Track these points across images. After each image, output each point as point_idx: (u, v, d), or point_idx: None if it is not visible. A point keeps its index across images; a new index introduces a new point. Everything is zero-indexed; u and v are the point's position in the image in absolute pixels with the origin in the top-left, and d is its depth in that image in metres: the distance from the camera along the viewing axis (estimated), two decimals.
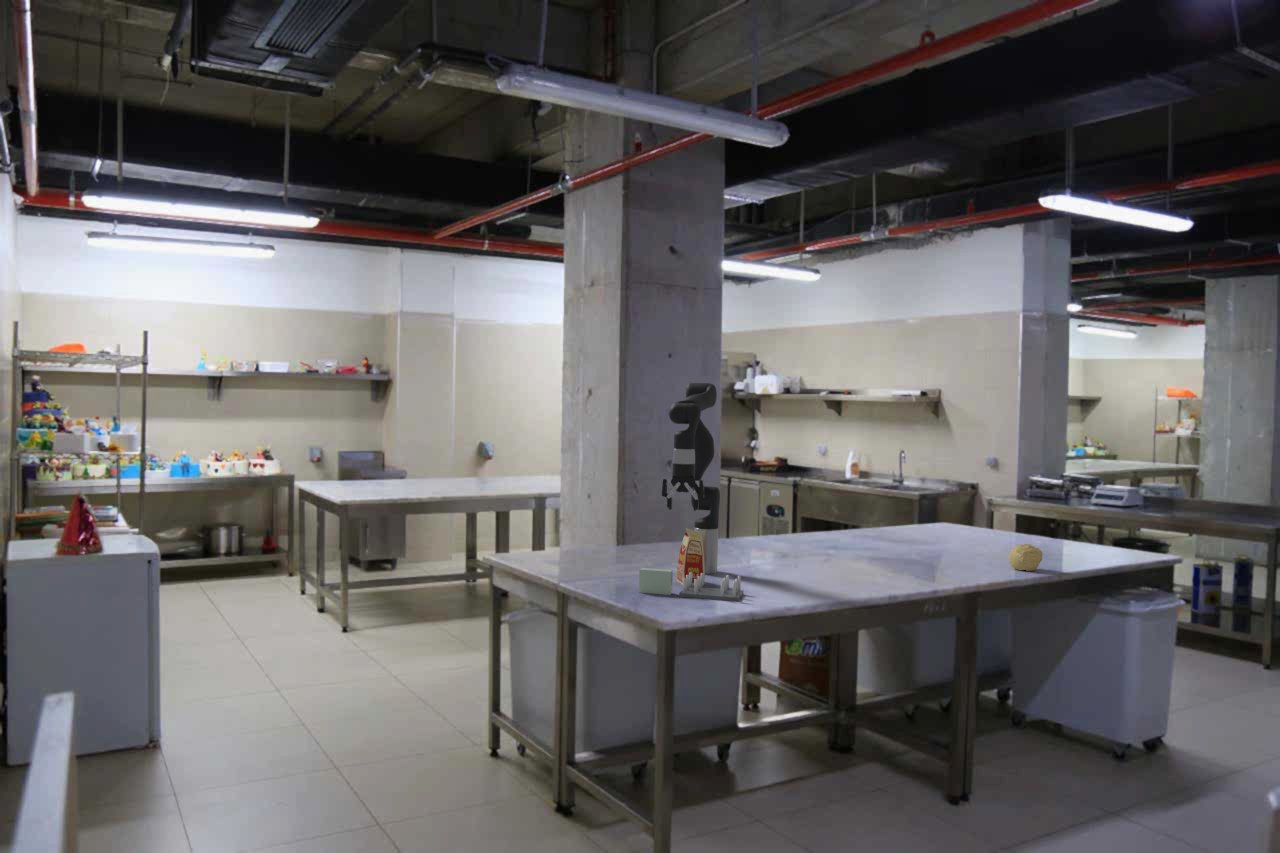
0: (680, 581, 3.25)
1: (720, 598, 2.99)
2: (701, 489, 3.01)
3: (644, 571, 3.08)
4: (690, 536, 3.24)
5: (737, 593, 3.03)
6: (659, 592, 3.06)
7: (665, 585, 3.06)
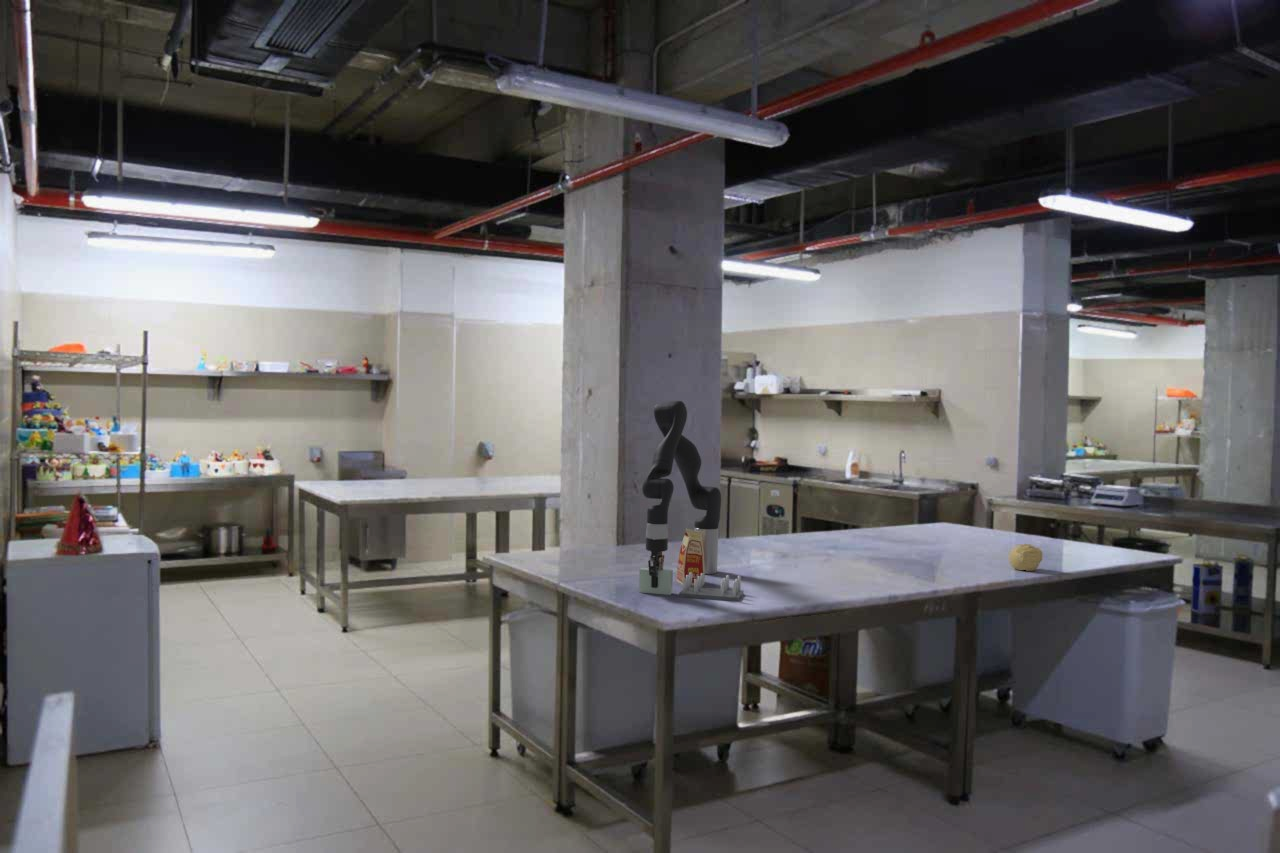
0: (680, 581, 3.25)
1: (720, 598, 2.99)
2: None
3: (644, 571, 3.08)
4: (690, 536, 3.24)
5: (737, 593, 3.03)
6: (659, 592, 3.06)
7: (665, 585, 3.06)
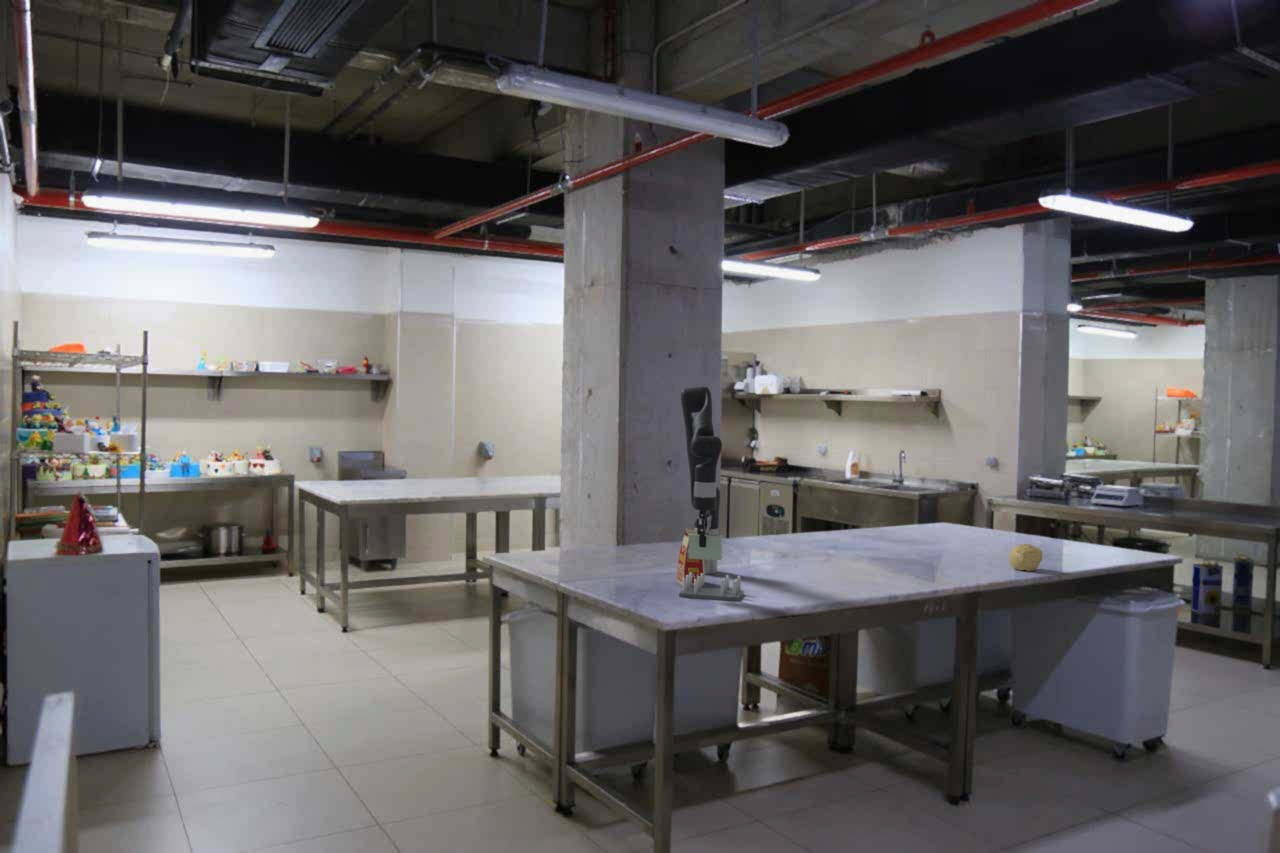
0: (680, 581, 3.25)
1: (720, 598, 2.99)
2: None
3: (693, 536, 3.03)
4: None
5: (737, 593, 3.03)
6: (709, 557, 3.01)
7: (716, 550, 3.01)
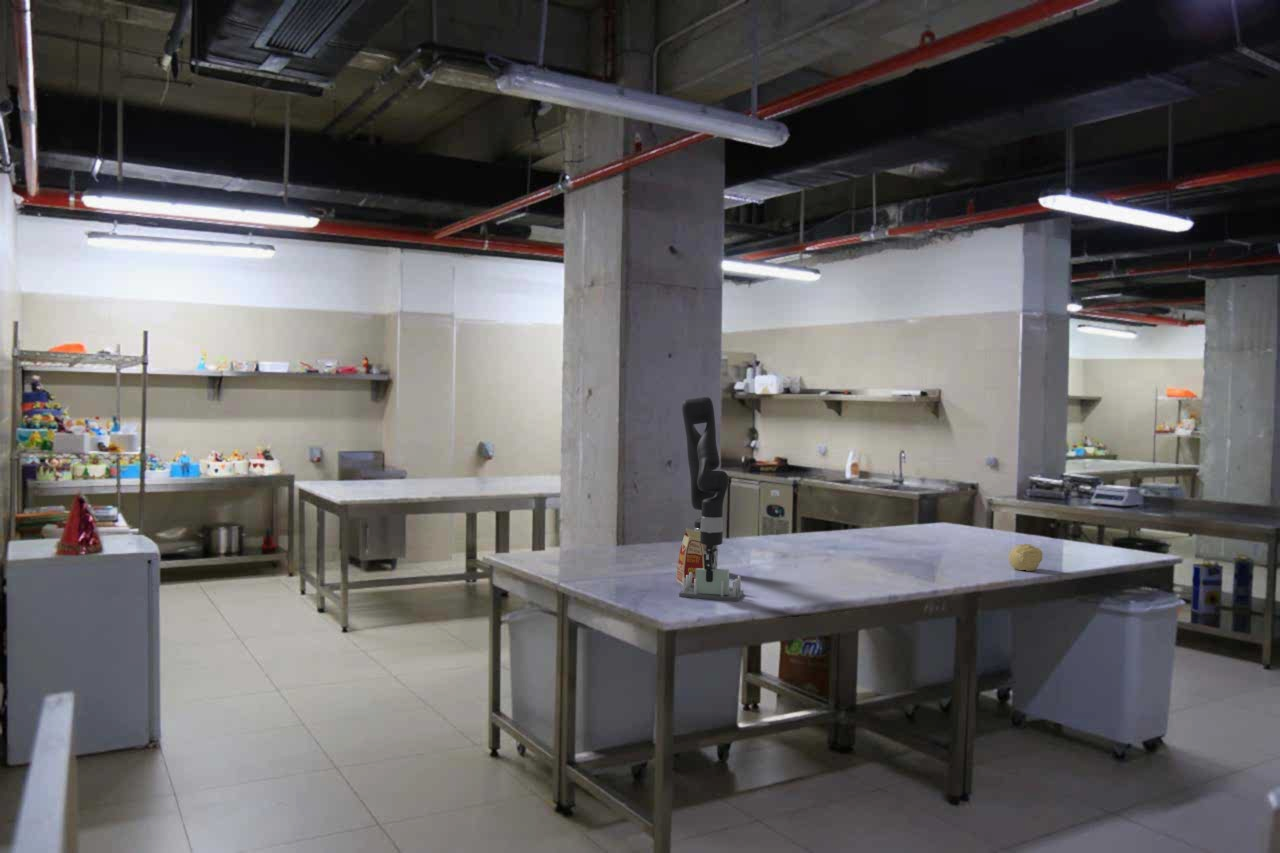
0: (680, 581, 3.25)
1: (720, 598, 2.99)
2: None
3: (700, 571, 3.02)
4: (690, 536, 3.24)
5: (737, 593, 3.03)
6: (716, 592, 3.01)
7: None
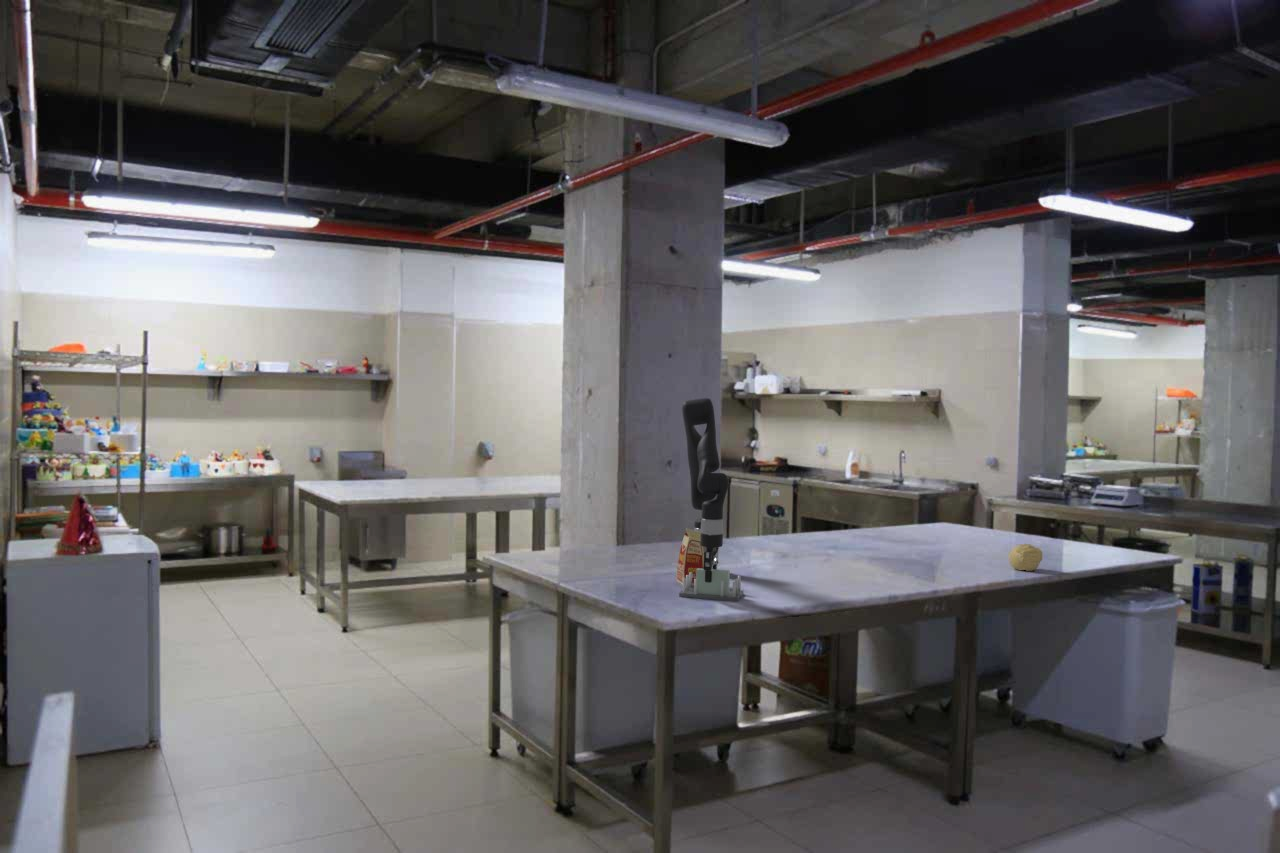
0: (680, 581, 3.25)
1: (720, 598, 2.99)
2: None
3: (701, 571, 3.02)
4: (690, 536, 3.24)
5: (737, 593, 3.03)
6: (716, 593, 3.01)
7: None
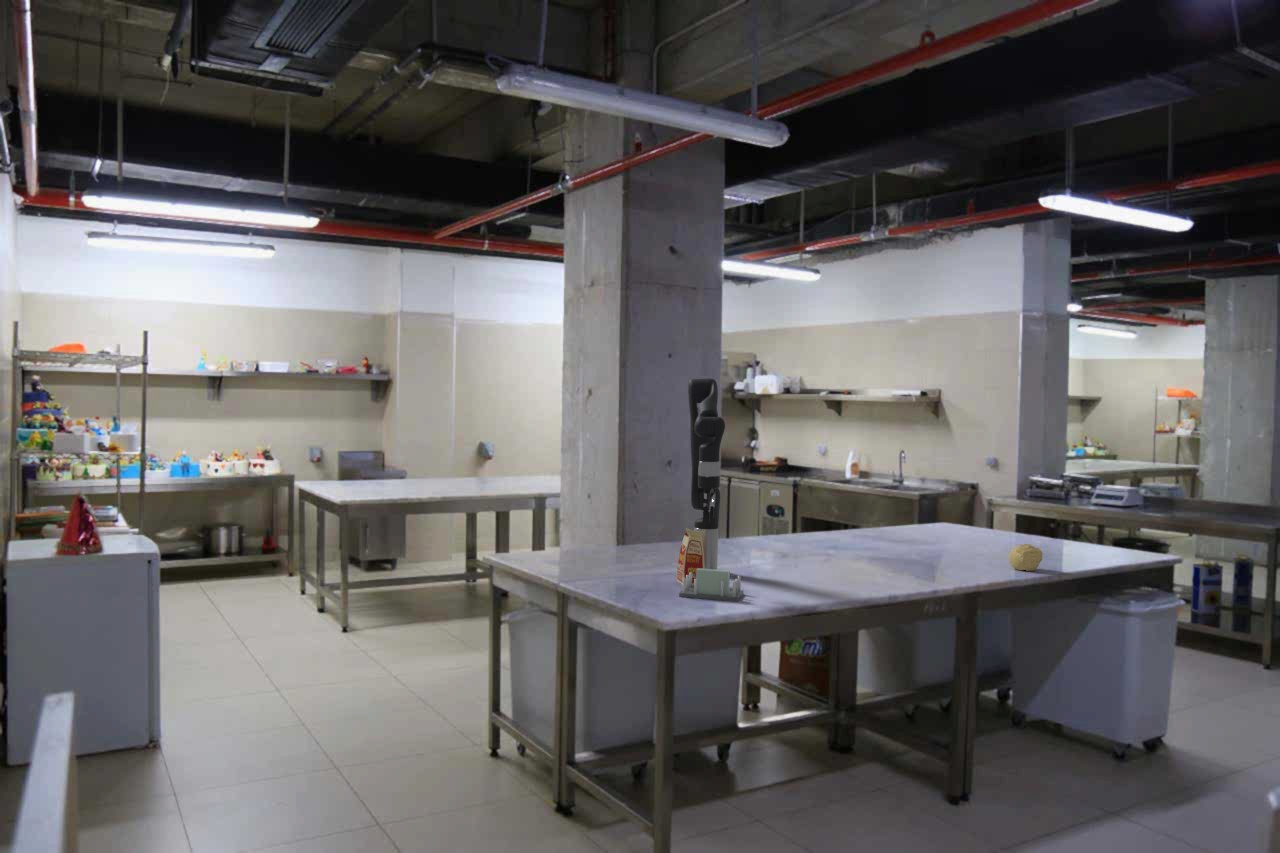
0: (680, 581, 3.25)
1: (720, 598, 2.99)
2: None
3: (701, 571, 3.02)
4: (690, 536, 3.24)
5: (737, 593, 3.03)
6: (716, 593, 3.01)
7: None
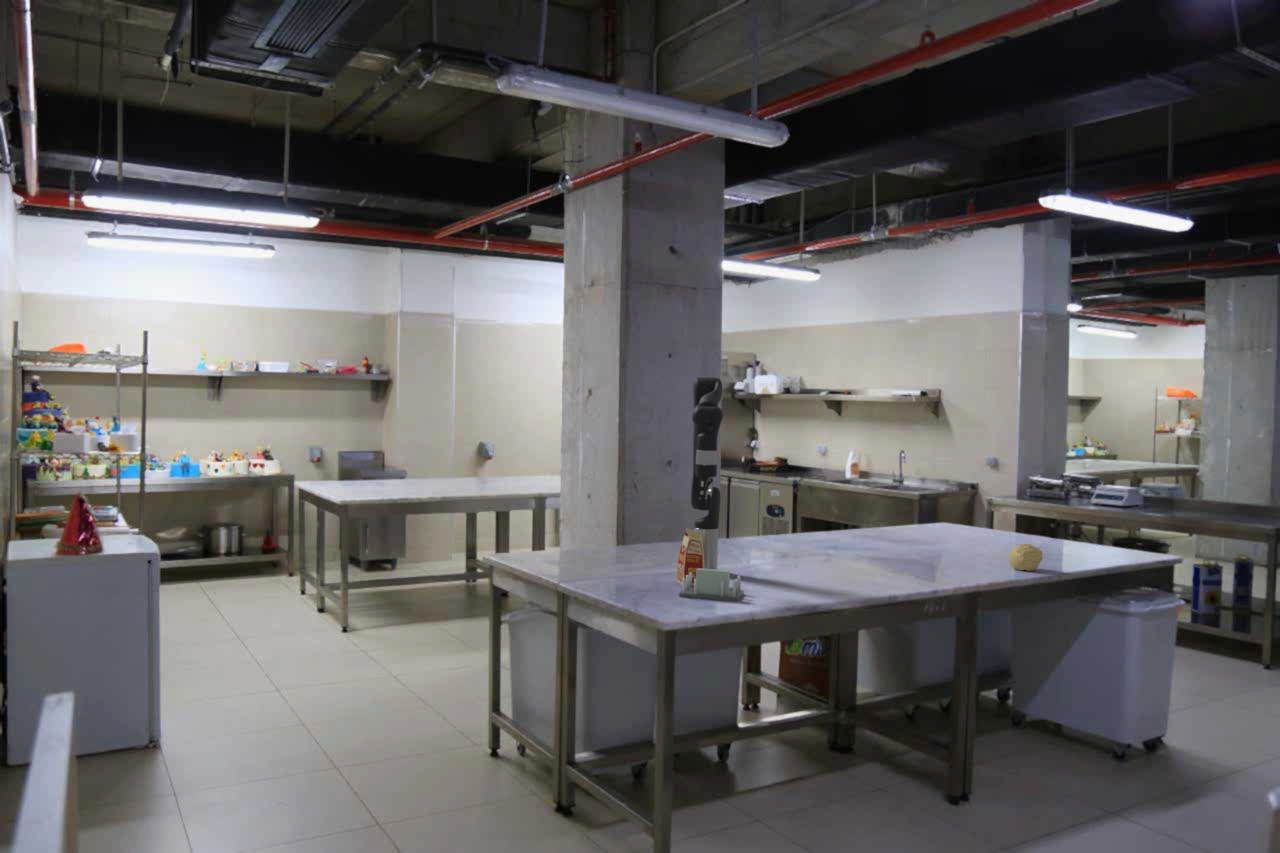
0: (680, 581, 3.25)
1: (720, 598, 2.99)
2: (712, 486, 3.23)
3: (701, 571, 3.02)
4: (690, 536, 3.24)
5: (737, 593, 3.03)
6: (716, 593, 3.01)
7: None
